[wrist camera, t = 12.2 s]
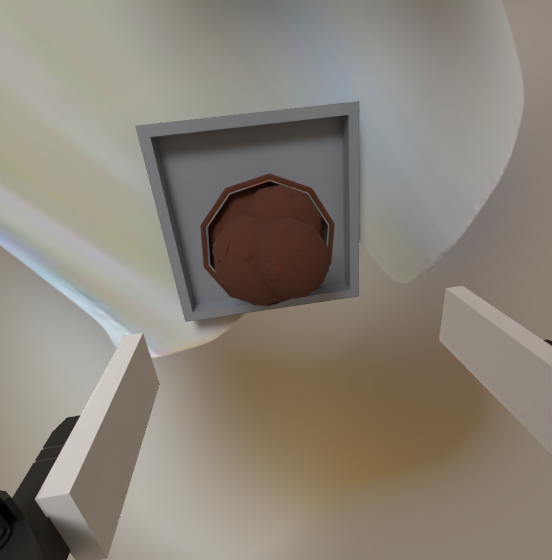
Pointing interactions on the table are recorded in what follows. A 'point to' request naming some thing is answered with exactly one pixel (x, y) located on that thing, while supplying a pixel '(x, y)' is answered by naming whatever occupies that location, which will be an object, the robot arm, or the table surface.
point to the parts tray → (245, 166)
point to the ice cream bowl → (268, 240)
